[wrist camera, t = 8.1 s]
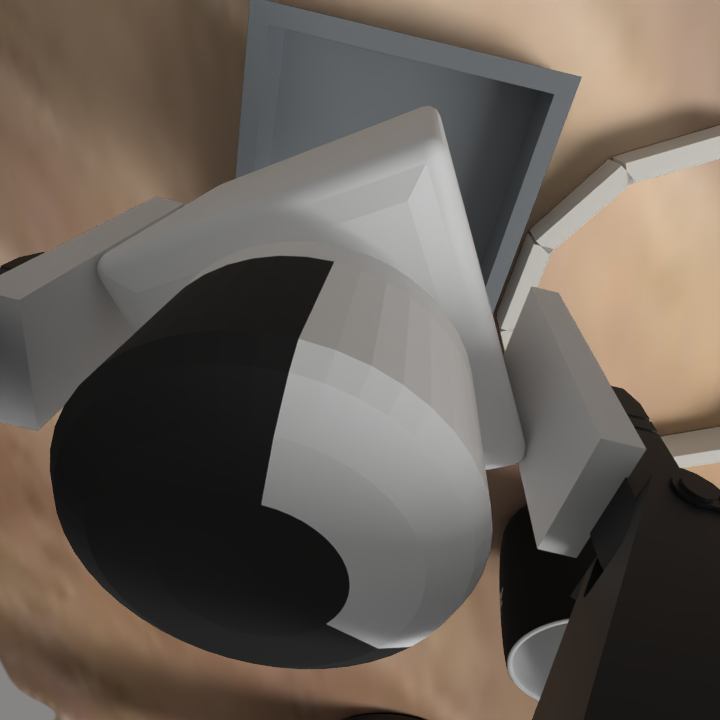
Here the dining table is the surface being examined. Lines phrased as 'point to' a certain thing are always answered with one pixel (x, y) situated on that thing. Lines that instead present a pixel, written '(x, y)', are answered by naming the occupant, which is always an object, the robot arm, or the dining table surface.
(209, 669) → the dining table surface
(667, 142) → the ring holder
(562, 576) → the mug
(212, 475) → the medicine bottle
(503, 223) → the tray
